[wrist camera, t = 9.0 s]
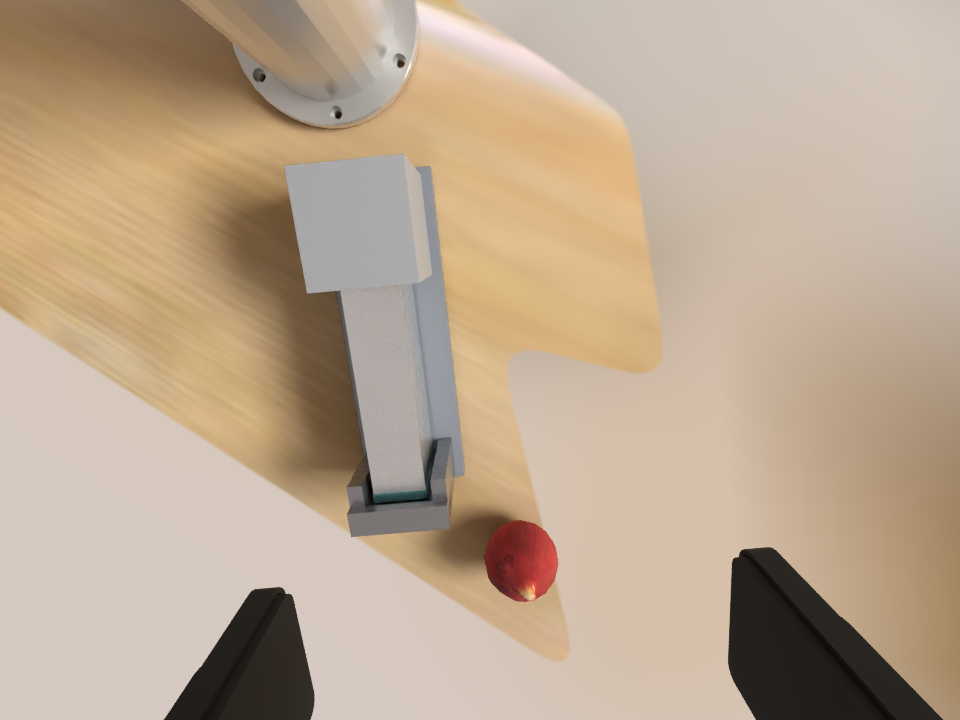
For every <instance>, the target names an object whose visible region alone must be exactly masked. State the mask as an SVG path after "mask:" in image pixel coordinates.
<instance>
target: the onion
mask: <svg viewBox="0 0 960 720" xmlns="http://www.w3.org/2000/svg"><path fill="white" fill-rule="evenodd" d="M484 559H485V564H486V569H487V573H488V578H489V580H490V581H491V583H492V584H493V585H494V586H495V587H496V588H497V589H498V590H499V591H500V592H501V593H503V594H504V595H506V596H507V597H509V598H511V599H513V600H515V601H521V602H527V601H535V599H537V598H538V597H540V596H542V595H543V594H545V593H546V592H547V590H548V589H549V588H550V586H551V585H552V583H553V582H554V579H555V576H556V572H557V567H558V558H557V552H556V548H555V545H554V543H553V541H552V540H551V538H550V537H549V535H548V534H547V532H546V531H545V530H543V529H542V528H540V527H539V526H537V525H536V524H534V523H530V522H526V521H522V520H519V521H510V522H508V523H506V524H504V525H502V526H501V527H500V528H499V529H498V530H497V531H496V532H495V533H494V534H493V535H492V536H491V537H490V539H489V541H488V544H487V547H486V550H485V556H484Z"/></svg>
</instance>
